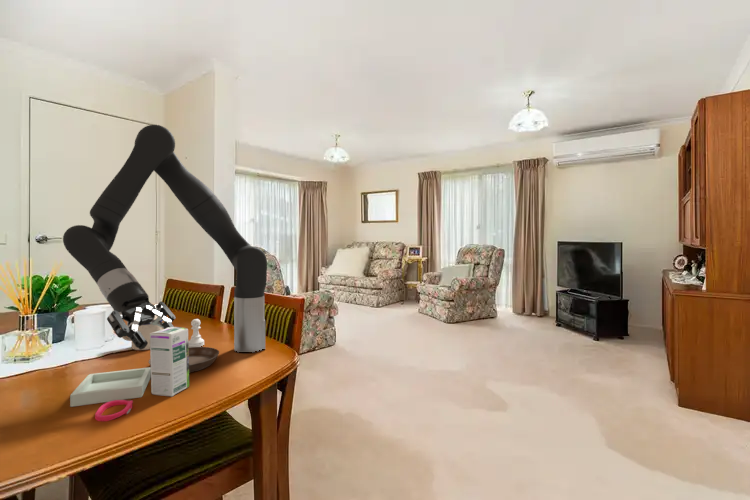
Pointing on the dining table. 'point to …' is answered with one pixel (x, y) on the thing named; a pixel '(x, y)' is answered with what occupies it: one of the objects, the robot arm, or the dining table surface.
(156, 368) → the syrup box
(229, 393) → the dining table surface
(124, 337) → the teacup with lid
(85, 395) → the tray
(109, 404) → the fitness band
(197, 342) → the chess pawn
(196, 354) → the plant saucer
